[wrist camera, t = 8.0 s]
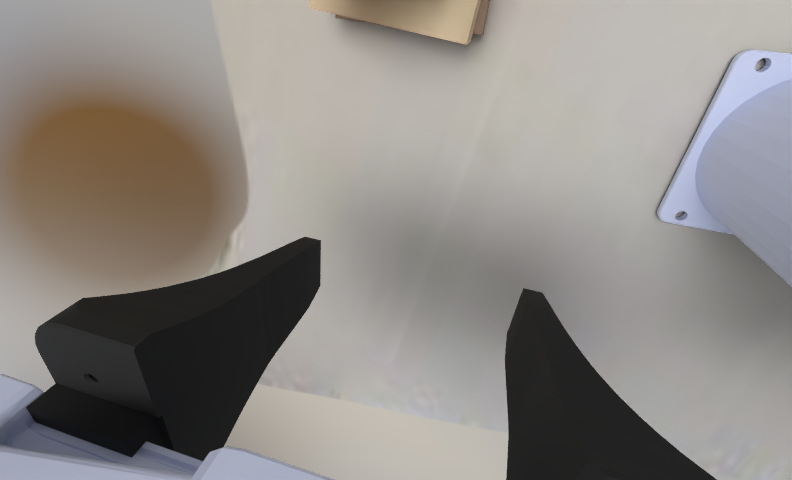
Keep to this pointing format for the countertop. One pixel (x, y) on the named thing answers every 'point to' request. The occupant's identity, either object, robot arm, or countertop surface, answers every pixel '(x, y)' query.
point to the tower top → (412, 15)
